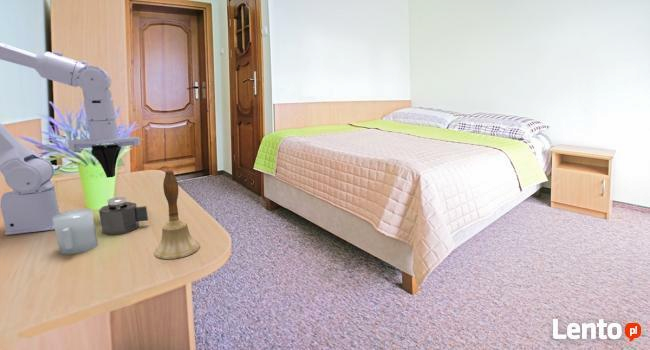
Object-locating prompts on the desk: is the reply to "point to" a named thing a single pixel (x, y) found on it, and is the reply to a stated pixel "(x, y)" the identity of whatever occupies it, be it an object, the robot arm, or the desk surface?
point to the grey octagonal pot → (122, 218)
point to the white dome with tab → (75, 231)
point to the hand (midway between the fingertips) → (111, 176)
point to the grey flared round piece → (117, 202)
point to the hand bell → (174, 226)
